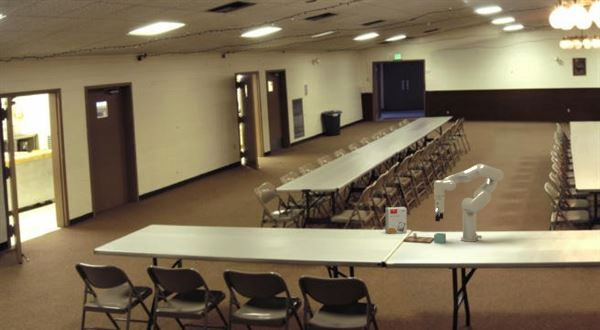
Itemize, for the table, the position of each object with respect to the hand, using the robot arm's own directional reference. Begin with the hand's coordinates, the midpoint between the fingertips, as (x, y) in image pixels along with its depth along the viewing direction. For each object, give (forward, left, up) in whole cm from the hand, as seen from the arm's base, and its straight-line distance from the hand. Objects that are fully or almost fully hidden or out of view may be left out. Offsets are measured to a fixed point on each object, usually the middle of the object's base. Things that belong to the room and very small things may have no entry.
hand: (439, 219), depth 528 cm
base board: (+16, 0, -17) cm, 23 cm away
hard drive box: (+41, -23, -17) cm, 50 cm away
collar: (0, 0, -17) cm, 17 cm away
